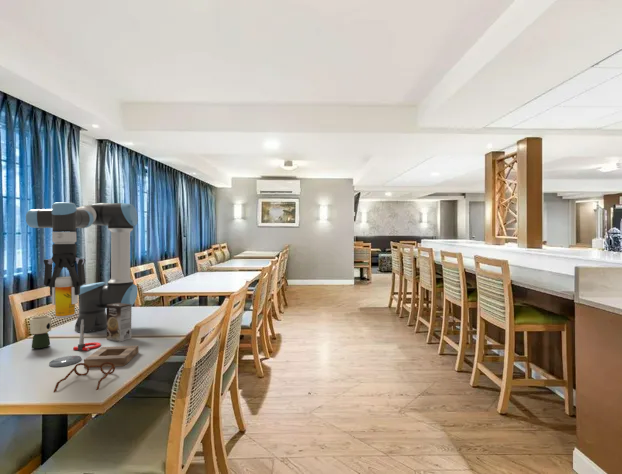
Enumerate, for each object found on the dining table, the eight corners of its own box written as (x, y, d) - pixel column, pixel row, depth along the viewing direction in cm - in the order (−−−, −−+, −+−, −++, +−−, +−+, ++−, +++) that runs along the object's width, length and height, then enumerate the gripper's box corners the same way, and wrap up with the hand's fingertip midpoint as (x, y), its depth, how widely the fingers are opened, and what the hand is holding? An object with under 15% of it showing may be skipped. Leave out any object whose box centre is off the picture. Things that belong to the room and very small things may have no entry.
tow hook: (88, 344, 154) (70, 350, 145) (89, 315, 154) (72, 319, 145) (105, 345, 152) (88, 351, 143) (106, 316, 153) (89, 320, 144)
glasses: (115, 374, 121) (115, 360, 121) (97, 391, 108) (97, 376, 108) (75, 376, 119) (75, 362, 119) (52, 394, 106) (51, 378, 106)
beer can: (73, 317, 130) (73, 277, 130) (53, 319, 127) (53, 278, 127) (75, 313, 136) (75, 275, 135) (56, 315, 133) (56, 276, 132)
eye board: (102, 354, 140) (102, 346, 140) (138, 352, 142) (138, 345, 142) (84, 367, 126) (84, 359, 126) (124, 365, 128) (124, 357, 128)
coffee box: (105, 339, 159) (105, 304, 159) (118, 335, 165) (118, 302, 165) (120, 341, 156) (119, 306, 156) (132, 337, 162) (131, 303, 162)
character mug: (49, 349, 145) (49, 319, 145) (28, 352, 142) (27, 321, 141) (52, 342, 155) (52, 313, 154) (32, 345, 151) (32, 315, 151)
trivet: (59, 357, 136) (59, 356, 136) (86, 356, 137) (86, 355, 137) (42, 367, 126) (42, 365, 126) (72, 366, 127) (72, 364, 127)
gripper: (30, 243, 126) (31, 306, 126) (86, 243, 129) (86, 305, 129) (43, 242, 134) (44, 302, 134) (96, 242, 136) (96, 301, 136)
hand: (65, 303), depth 131 cm, fingers closed on beer can, 6 cm apart
